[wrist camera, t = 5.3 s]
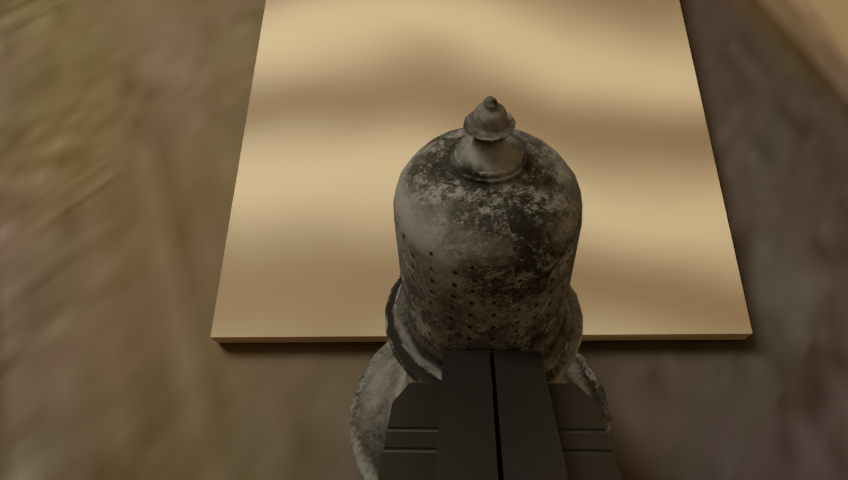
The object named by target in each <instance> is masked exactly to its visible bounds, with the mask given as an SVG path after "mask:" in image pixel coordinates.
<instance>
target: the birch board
mask: <svg viewBox="0 0 848 480" xmlns="http://www.w3.org/2000/svg"><path fill="white" fill-rule="evenodd" d="M488 96H493V97H494V98H496V100H497V102H498V103H500V104H502V105H503V106H504V108H505V109H506V112H508V113H510V114H511V115H512V117H513V118H514V119H515V121H516V125H515V129H517V130H521V131H524V132H527V133H529V134H531V135H533V136H535V137H537V138H539V139H541V140H543V141H544V142H545V143H547V144H548V145H549V146H551V147H552V148H553V149H554V150H556V151H557V153H558V154H559V155H560V156H561V157H562V158H563V159H564V161H565V162H566V163H567V165H568V166H569V167H570V169H571V170H572V171H573V173H574V174H575V176H576V179H577V182H578V185H579V187H580V190H581V197H582V206H583V208H582V226H581V231H580V236H579V241H578V246H577V251H576V256H575V261H574V267H573V272H572V277H571V282H570V285H571V286H572V288H573V289H574V291H575V293H576V294H577V297H578V300H579V304H580V307H581V310H582V314H583V337H582V341H597V340H745V339H746V338H747V337H749V336H750V335H751V334H753V333H752V328H751V324H750V319H749V315H748V310H747V306H746V301H745V297H744V292H743V287H742V283H741V278H740V274H739V269H738V265H737V260H736V256H735V251H734V247H733V242H732V237H731V233H730V228H729V224H728V219H727V215H726V210H725V206H724V201H723V197H722V192H721V187H720V183H719V178H718V174H717V169H716V165H715V160H714V156H713V151H712V147H711V142H710V137H709V133H708V128H707V124H706V119H705V115H704V110H703V106H702V101H701V97H700V92H699V87H698V83H697V78H696V74H695V69H694V65H693V60H692V56H691V51H690V47H689V42H688V37H687V33H686V28H685V24H684V19H683V15H682V10H681V6H680V1H679V0H266V4H265V10H264V16H263V22H262V28H261V35H260V41H259V47H258V53H257V59H256V65H255V71H254V77H253V83H252V89H251V95H250V101H249V107H248V113H247V119H246V125H245V131H244V137H243V143H242V149H241V155H240V161H239V168H238V174H237V180H236V186H235V192H234V198H233V204H232V210H231V216H230V222H229V228H228V234H227V240H226V246H225V252H224V258H223V264H222V270H221V276H220V282H219V288H218V294H217V301H216V307H215V313H214V319H213V325H212V331H211V338H212V339H213V340H215V341H216V342H217V343H280V342H388V338H387V335H386V328H385V308H386V304H387V301H388V297H389V294H390V291H391V288H392V287H393V285H394V284H395V282H396V281H397V279H398V277H399V276H400V266H399V257H398V249H397V241H396V232H395V224H394V207H393V201H394V196H395V190H396V186H397V183H398V180H399V177H400V174H401V171H402V170H403V169H404V167H405V166H406V165H407V163H408V162H409V161H410V159H411V158H412V157H413V156H414V155H415V154H416V153H417V152H418V151H419V150H420V149H421V148H422V147H423V146H425V145H426V144H427V143H428V142H430V141H431V140H432V139H434V138H436V137H438V136H440V135H442V134H444V133H446V132H448V131H451V130H455V129H459V128H463V124H464V120H465V117H466V116H467V115H469V114H470V113H471V112H472V111H474V109H475V107H476V106H477V105H479V104H480V103H481V102H483V101H484V99H485V98H486V97H488Z"/></svg>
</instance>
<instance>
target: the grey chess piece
mask: <svg viewBox="0 0 848 480" xmlns="http://www.w3.org/2000/svg"><path fill="white" fill-rule="evenodd" d="M515 125H516V121H515V119H514V118H513V117H512V115H511V114H510V113H508V112H506V109H505V108H504V106H503V105H502V104H500V103H498V102H497V100H496V98H494V97H493V96H488V97H486V98H485V99H484V101H483V102H481V103H480V104H479V105H477V106H476V107H475V109H474V111H472V112H471V113H470V114H469V115H467V116H466V117H465V120H464V124H463V128H459V129H455V130H451V131H448V132H446V133H444V134H442V135H440V136H438V137H436V138H434V139H432V140H431V141H430V142H428V143H427V144H426V145H425V146H423V147H422V148H421V149H420V150H419V151H418V152H417V153H416V154H415V155H414V156H413V157H412V158H411V159H410V161H409V162H408V163H407V165H406V166H405V167H404V169H403V170H402V171H401V174H400V177H399V180H398V183H397V186H396V190H395V196H394V201H393V207H394V224H395V232H396V241H397V249H398V257H399V266H400V276H399V277H398V279H397V281H396V282H395V284H394V285H393V287H392V288H391V291H390V294H389V297H388V301H387V304H386V308H385V328H386V335H387V338H388V342H387V343H386V344H385V345H384V346H383V347H382V348H381V349H379V350H378V351H377V352H376V353H375V355H374V356H373V358H372V359H371V361H370V363H369V364H368V366H367V367H366V369H365V371H364V372H363V374H362V375H361V377H360V379H359V382H358V385H357V388H356V392H355V395H354V398H353V401H352V405H351V410H350V442H351V446H352V449H353V453H354V457H355V461H356V464H357V468H358V472H359V474H360V476H361V478H362V479H363V480H378V476H379V471H380V466H381V460H382V455H383V452H384V444H385V439H386V433H387V432H388V423H389V417H390V412H391V407H392V403H393V401H394V400H395V399H396V398H397V397H398V396H399V394H400V393H401V392H402V391H403V390H404V389H405V387H406V386H407V385H408V384H409V383H441V378H442V363H443V351H489V352H490V365H491V380H492V395H493V351H540V352H541V355H542V360H543V365H544V369H545V374H546V378H547V383H566V384H577V385H578V386H579V387H580V388H582V389H583V390H584V391H585V392H586V393H587V394H588V395H589V396H590V397H591V398H592V399H593V400H594V401H595V402H596V403H597V405H598V408H599V411H600V414H601V417H602V420H603V423H604V426H605V431H606V434H607V435H608V438H609V441H610V444H611V447H612V417H611V413H610V410H609V406H608V403H607V399H606V396H605V392H604V388H603V387H602V385H601V383H600V381H599V380H598V378H597V376H596V375H595V373H594V371H593V370H592V368H591V366H590V365H589V363H588V361H587V360H586V359H585V358H584V357H583V356H582V355H581V354H580V353H579V352H578V350H579V347H580V344H581V342H582V337H583V314H582V310H581V307H580V304H579V300H578V297H577V294H576V293H575V291H574V289H573V288H572V286H571V285H570V282H571V277H572V272H573V267H574V261H575V256H576V251H577V246H578V241H579V236H580V231H581V226H582V208H583V206H582V197H581V190H580V187H579V185H578V182H577V179H576V176H575V174H574V173H573V171H572V170H571V169H570V167H569V166H568V165H567V163H566V162H565V161H564V159H563V158H562V157H561V156H560V155H559V154H558V153H557V151H556V150H554V149H553V148H552V147H551V146H549V145H548V144H547V143H545V142H544V141H543V140H541V139H539V138H537V137H535V136H533V135H531V134H529V133H527V132H524V131H521V130H517V129H515Z"/></svg>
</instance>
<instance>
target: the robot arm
mask: <svg viewBox="0 0 848 480" xmlns="http://www.w3.org/2000/svg"><path fill="white" fill-rule="evenodd" d="M378 480H622V477H621V474H620V471H619V468H618V465H617V462H616V459H615V456H614V455H613V453H612V447H611V444H610V441H609V438H608V435H607V434H606V431H605V426H604V423H603V420H602V417H601V414H600V411H599V408H598V405H597V403H596V402H595V401H594V400H593V399H592V398H591V397H590V396H589V395H588V394H587V393H586V392H585V391H584V390H583V389H582V388H580V387H579V386H578V385H577V384H566V383H547V378H546V374H545V369H544V365H543V360H542V355H541V352H540V351H493V395H492V380H491V365H490V352H489V351H443V363H442V378H441V383H409V384H408V385H407V386H406V387H405V389H404V390H403V391H402V392H401V393H400V394H399V396H398V397H397V398H396V399H395V400H394V401H393V403H392V407H391V412H390V417H389V423H388V432H387V433H386V439H385V444H384V452H383V455H382V460H381V466H380V471H379V476H378Z"/></svg>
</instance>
